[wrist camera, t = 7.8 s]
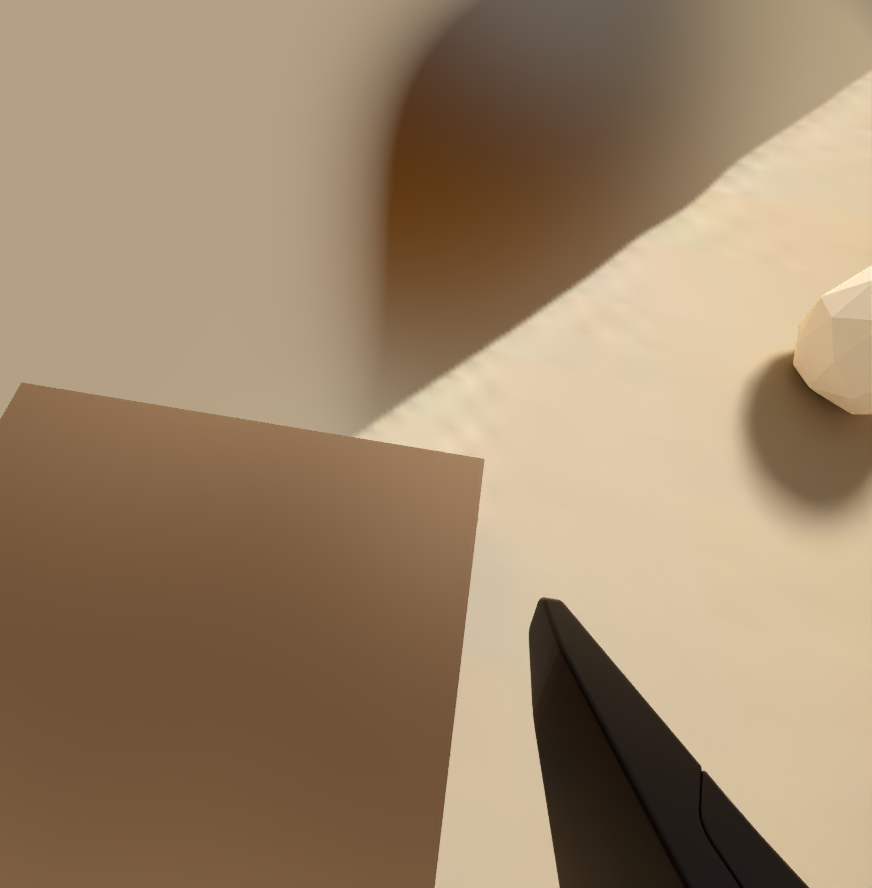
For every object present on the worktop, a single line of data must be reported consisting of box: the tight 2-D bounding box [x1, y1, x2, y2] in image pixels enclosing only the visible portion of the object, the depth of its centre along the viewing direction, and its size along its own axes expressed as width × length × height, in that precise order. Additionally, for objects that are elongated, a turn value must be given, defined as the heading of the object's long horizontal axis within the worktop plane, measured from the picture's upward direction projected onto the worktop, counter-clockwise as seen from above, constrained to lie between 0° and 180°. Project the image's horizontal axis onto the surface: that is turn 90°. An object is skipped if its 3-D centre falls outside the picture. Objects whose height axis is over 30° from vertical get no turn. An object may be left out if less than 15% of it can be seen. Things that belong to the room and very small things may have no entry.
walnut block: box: [0, 383, 484, 888], centre depth 10 cm, size 5×5×13 cm
